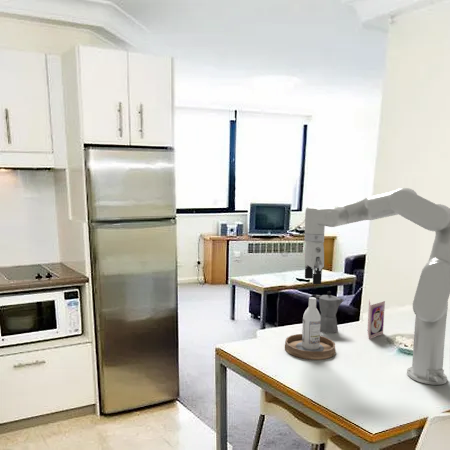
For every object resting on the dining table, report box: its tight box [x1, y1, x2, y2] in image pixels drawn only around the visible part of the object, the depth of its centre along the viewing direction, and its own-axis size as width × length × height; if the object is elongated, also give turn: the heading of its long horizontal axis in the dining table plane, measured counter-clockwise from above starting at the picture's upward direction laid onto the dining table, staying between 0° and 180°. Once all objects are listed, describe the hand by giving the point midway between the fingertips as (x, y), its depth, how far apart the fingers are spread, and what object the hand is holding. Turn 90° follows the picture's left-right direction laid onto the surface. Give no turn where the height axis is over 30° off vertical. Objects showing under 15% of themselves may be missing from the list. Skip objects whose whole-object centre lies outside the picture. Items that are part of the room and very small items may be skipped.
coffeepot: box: [310, 290, 345, 334], centre depth 192 cm, size 15×9×18 cm, turn 67°
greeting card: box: [366, 299, 386, 340], centre depth 187 cm, size 11×7×15 cm, turn 129°
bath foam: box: [301, 296, 321, 350], centre depth 167 cm, size 7×7×20 cm
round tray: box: [284, 333, 337, 361], centre depth 169 cm, size 20×20×3 cm
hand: (312, 281), depth 166 cm, fingers open, 9 cm apart
